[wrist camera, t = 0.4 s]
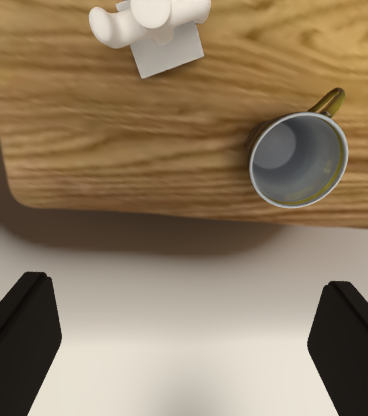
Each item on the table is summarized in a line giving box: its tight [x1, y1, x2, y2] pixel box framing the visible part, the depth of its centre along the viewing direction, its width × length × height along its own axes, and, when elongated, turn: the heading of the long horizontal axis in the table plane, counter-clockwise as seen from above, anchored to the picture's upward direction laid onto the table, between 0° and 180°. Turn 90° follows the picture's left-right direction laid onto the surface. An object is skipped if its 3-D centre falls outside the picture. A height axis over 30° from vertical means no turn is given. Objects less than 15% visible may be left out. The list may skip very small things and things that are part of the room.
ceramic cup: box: [246, 88, 348, 208], centre depth 33 cm, size 13×10×10 cm
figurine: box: [89, 0, 211, 79], centre depth 26 cm, size 7×9×15 cm
